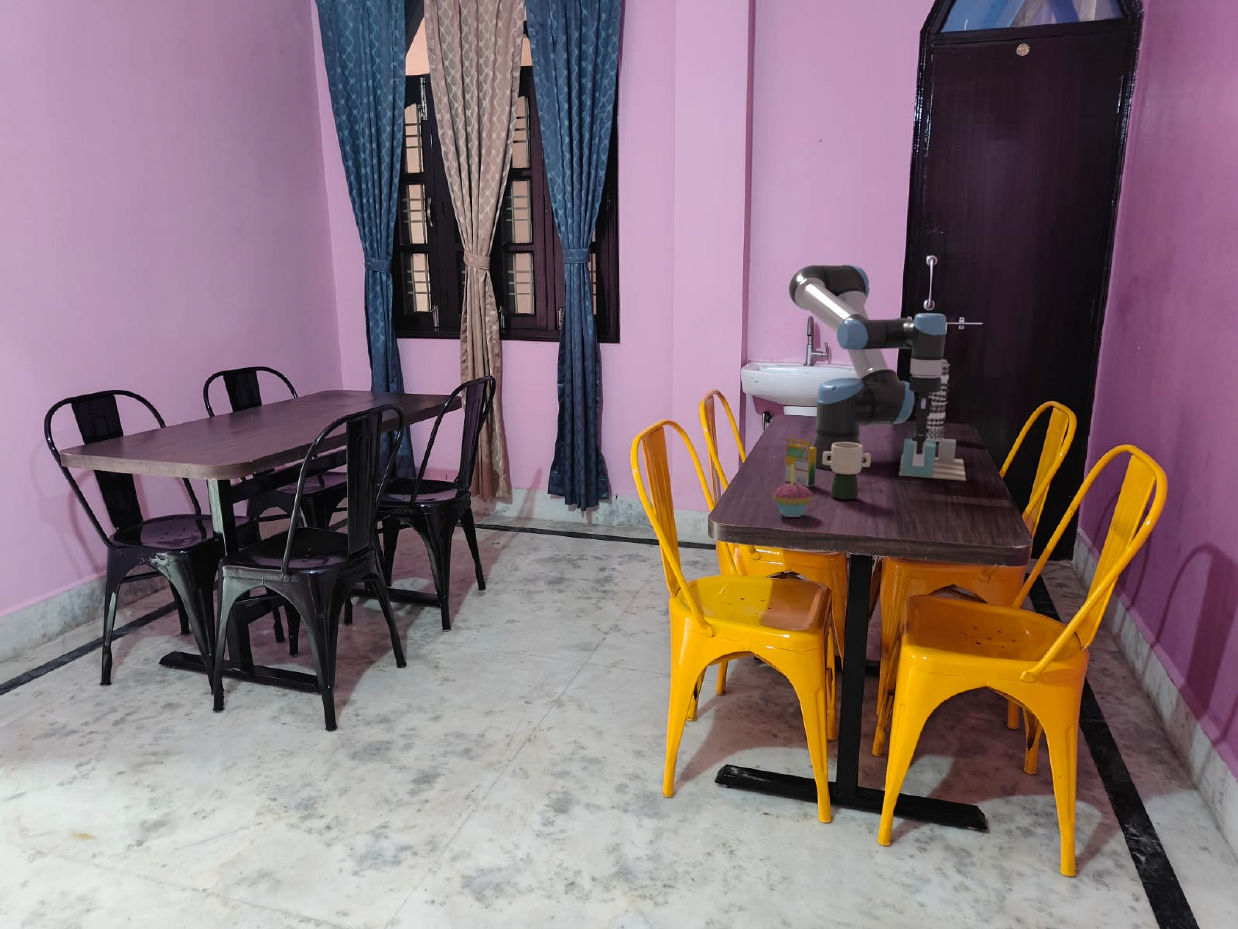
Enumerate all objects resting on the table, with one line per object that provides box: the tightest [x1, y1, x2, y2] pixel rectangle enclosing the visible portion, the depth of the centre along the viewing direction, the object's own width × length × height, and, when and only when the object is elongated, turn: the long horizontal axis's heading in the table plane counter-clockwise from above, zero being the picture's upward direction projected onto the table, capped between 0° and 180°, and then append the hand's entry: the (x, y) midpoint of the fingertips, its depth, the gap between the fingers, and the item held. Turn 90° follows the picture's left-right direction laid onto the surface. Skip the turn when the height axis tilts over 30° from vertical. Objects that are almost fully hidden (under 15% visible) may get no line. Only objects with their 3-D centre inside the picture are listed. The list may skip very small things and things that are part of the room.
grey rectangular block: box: [937, 438, 957, 464], centre depth 229 cm, size 4×4×6 cm
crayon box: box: [784, 437, 817, 487], centre depth 212 cm, size 7×3×12 cm, turn 41°
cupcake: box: [772, 461, 813, 516], centre depth 186 cm, size 9×8×12 cm
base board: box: [898, 454, 967, 481], centre depth 224 cm, size 24×16×2 cm, turn 160°
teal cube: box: [902, 438, 937, 477], centre depth 218 cm, size 8×8×8 cm
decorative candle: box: [916, 358, 951, 443], centre depth 263 cm, size 9×9×25 cm
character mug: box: [823, 442, 872, 500], centre depth 199 cm, size 11×7×13 cm, turn 77°
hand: (918, 461), depth 218 cm, fingers open, 10 cm apart
